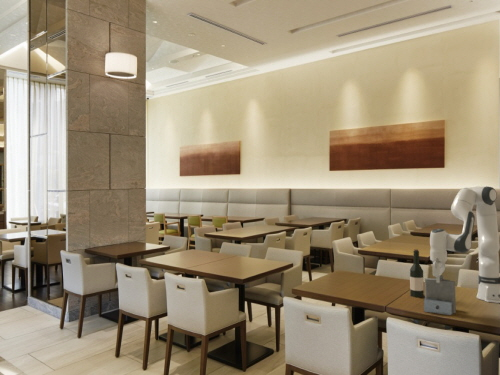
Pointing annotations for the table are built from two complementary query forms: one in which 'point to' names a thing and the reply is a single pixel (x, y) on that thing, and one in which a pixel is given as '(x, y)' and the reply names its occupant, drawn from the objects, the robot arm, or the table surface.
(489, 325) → the table surface
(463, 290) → the table surface
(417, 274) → the wine bottle
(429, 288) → the grey rectangular slab
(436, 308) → the vise
